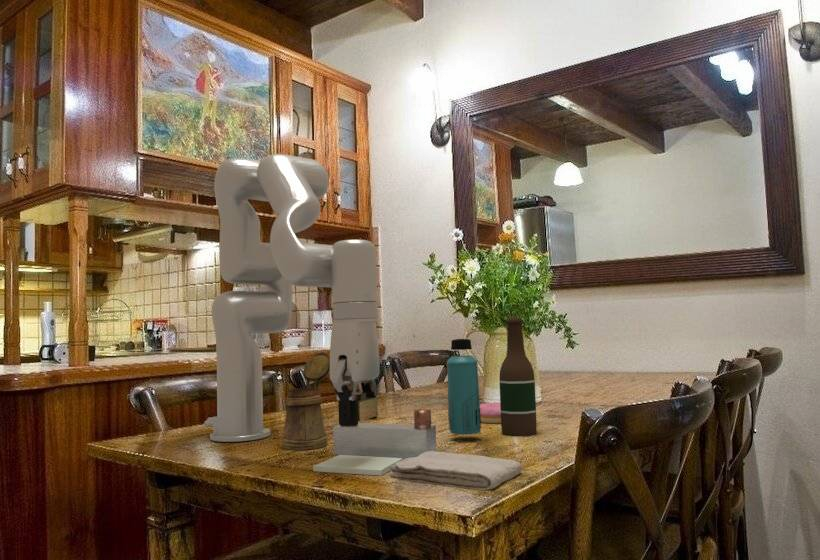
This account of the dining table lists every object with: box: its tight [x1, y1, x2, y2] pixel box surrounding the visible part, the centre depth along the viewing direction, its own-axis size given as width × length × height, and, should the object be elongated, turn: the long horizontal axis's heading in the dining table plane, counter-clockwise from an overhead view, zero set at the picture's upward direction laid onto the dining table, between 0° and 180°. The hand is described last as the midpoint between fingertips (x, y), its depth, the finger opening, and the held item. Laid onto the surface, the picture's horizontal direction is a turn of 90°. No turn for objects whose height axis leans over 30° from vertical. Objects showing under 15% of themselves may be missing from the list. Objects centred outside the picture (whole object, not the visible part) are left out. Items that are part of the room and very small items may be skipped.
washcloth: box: [388, 451, 523, 491], centre depth 97 cm, size 12×18×3 cm, turn 58°
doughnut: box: [480, 401, 501, 425], centre depth 149 cm, size 11×11×4 cm
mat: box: [312, 455, 404, 476], centre depth 104 cm, size 12×9×1 cm
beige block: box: [337, 392, 379, 422], centre depth 105 cm, size 4×6×4 cm, turn 158°
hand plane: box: [332, 408, 437, 459], centre depth 114 cm, size 18×5×10 cm, turn 68°
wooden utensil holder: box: [281, 351, 330, 451], centre depth 127 cm, size 9×14×18 cm, turn 162°
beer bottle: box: [499, 316, 538, 437], centre depth 132 cm, size 8×8×24 cm
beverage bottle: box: [446, 338, 482, 435], centre depth 127 cm, size 6×7×20 cm
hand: (358, 421), depth 104 cm, fingers closed on beige block, 6 cm apart
